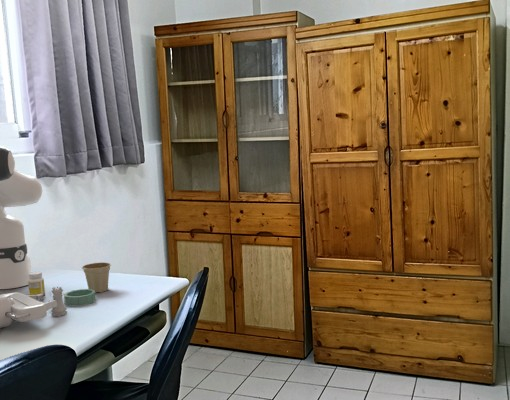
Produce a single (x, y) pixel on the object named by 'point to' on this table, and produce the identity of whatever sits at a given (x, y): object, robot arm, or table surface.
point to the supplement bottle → (36, 284)
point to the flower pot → (97, 276)
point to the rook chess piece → (58, 302)
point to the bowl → (79, 297)
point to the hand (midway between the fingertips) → (49, 300)
